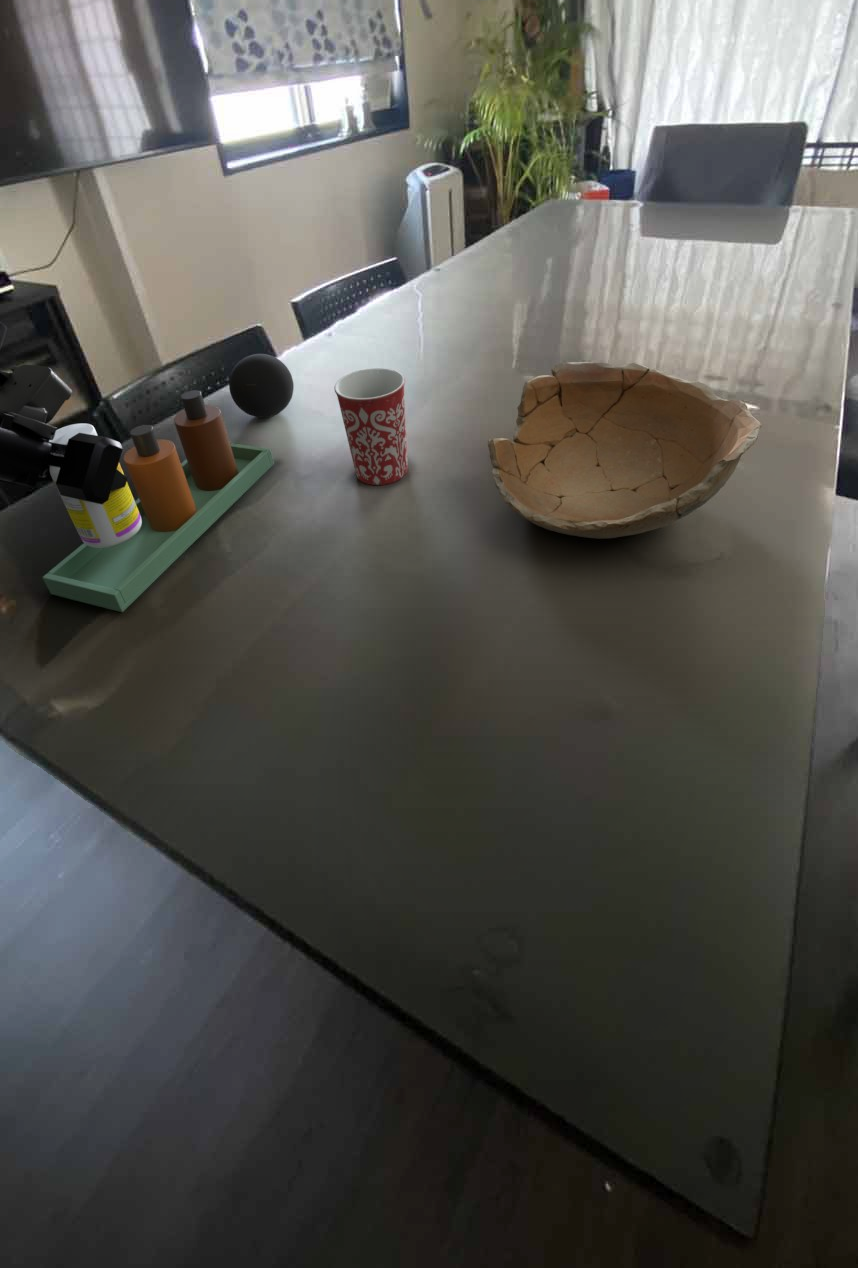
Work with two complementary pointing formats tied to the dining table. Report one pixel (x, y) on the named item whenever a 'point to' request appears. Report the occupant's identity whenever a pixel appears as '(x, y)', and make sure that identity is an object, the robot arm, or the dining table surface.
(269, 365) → the speaker
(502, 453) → the ceramic bowl
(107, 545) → the supplement bottle
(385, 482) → the mug
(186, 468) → the tray
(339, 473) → the dining table surface
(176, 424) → the dark amber bottle
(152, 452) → the amber bottle
